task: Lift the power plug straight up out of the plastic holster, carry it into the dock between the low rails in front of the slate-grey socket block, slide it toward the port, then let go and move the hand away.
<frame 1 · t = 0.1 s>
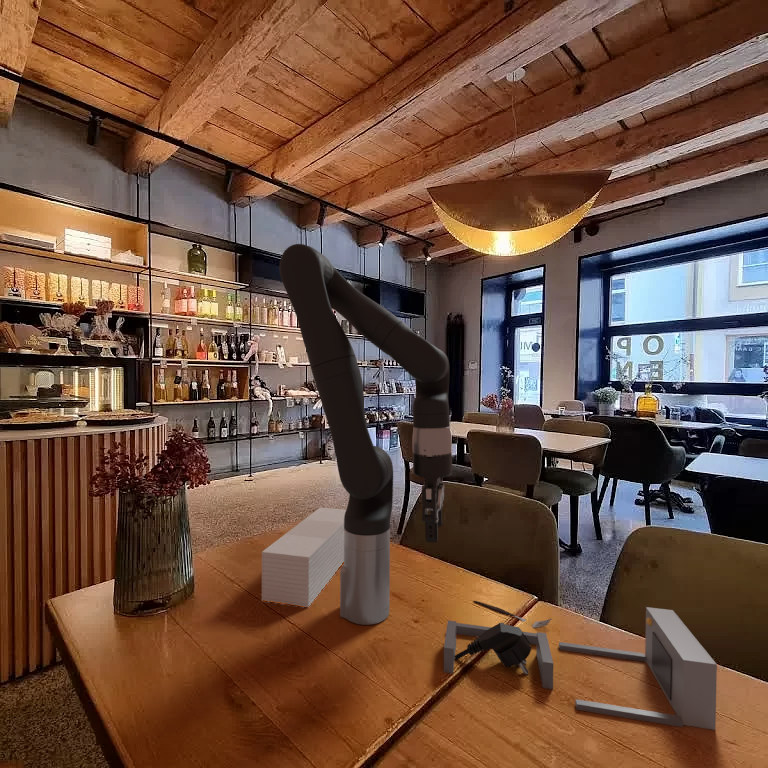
hand: (434, 533, 84), 17 cm above the table, tool pointing down, fingers open, 8 cm apart
socket block: (676, 691, 66), on the table
fork: (509, 617, 87), on the table
plug holster: (496, 663, 72), on the table
stack of papers: (315, 573, 106), on the table
power plug: (492, 665, 72), on the table
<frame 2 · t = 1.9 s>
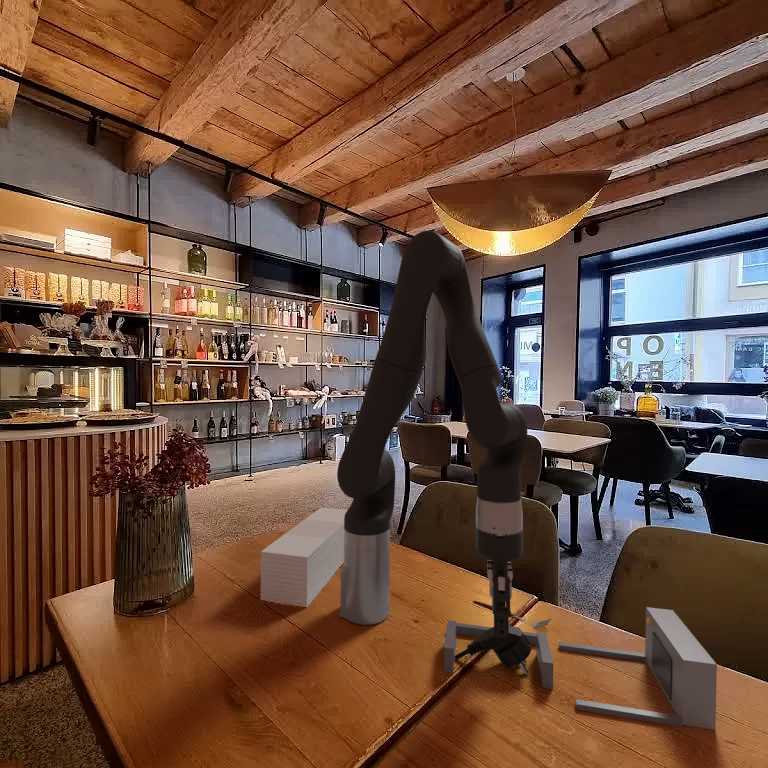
hand: (500, 622, 72), 7 cm above the table, tool pointing down, fingers open, 8 cm apart
power plug: (492, 665, 72), on the table, touching plug holster
everything else where it was.
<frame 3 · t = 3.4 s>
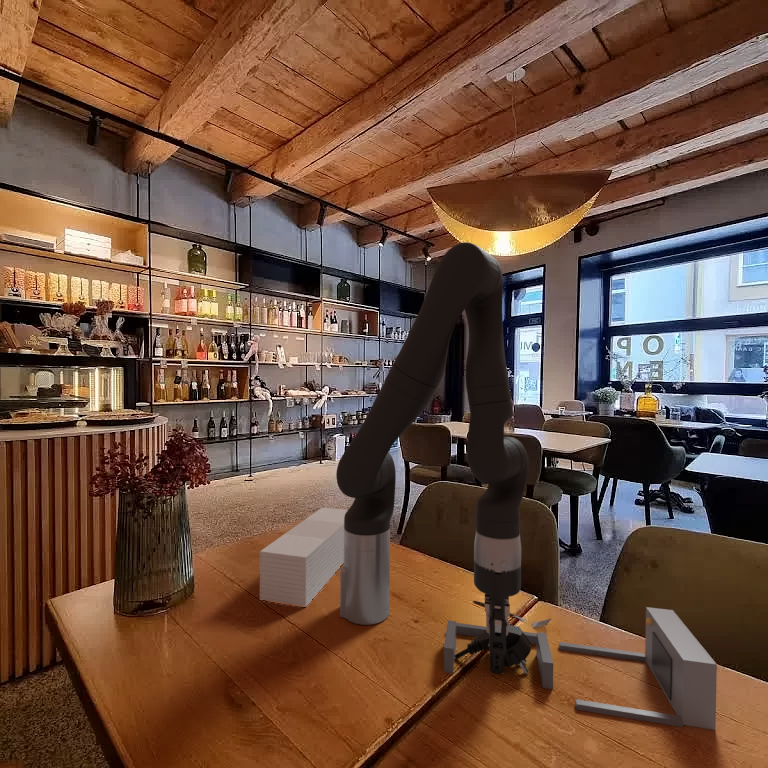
hand: (496, 659, 72), 1 cm above the table, tool pointing down, fingers closed on power plug, 5 cm apart
power plug: (492, 665, 72), on the table, touching gripper
everything else where it was.
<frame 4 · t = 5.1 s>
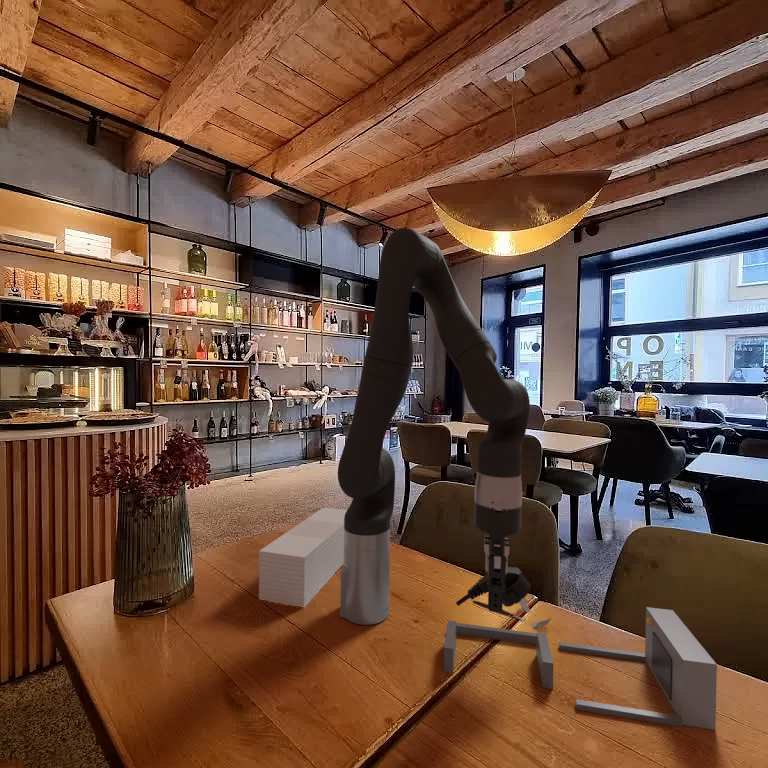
hand: (494, 601, 72), 10 cm above the table, tool pointing down, fingers closed on power plug, 5 cm apart
power plug: (493, 608, 72), point 9 cm above the table, touching gripper
everything else where it was.
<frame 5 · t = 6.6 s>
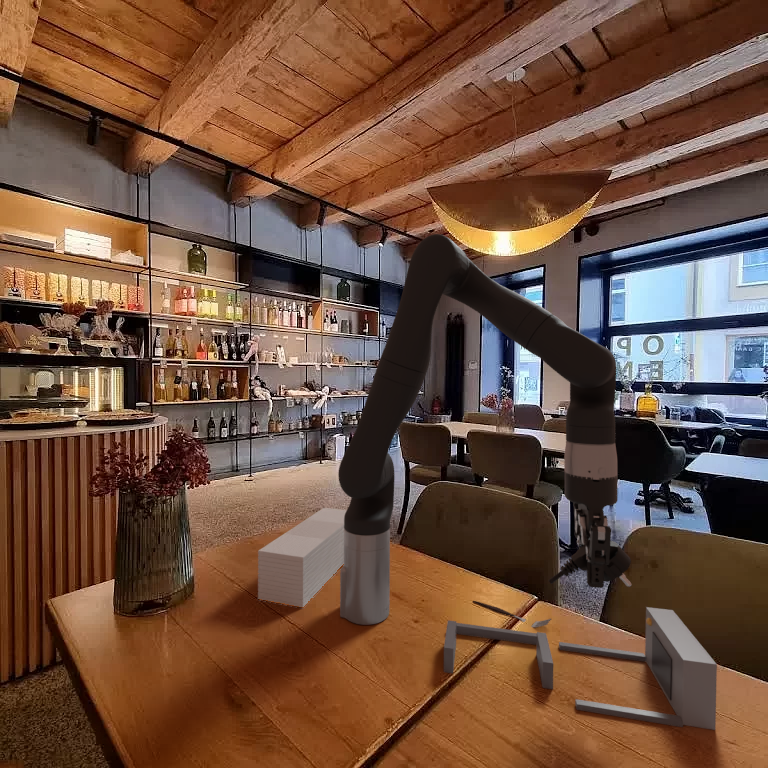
hand: (590, 577, 68), 16 cm above the table, tool pointing down, fingers closed on power plug, 5 cm apart
power plug: (590, 584, 68), point 15 cm above the table, touching gripper
everything else where it was.
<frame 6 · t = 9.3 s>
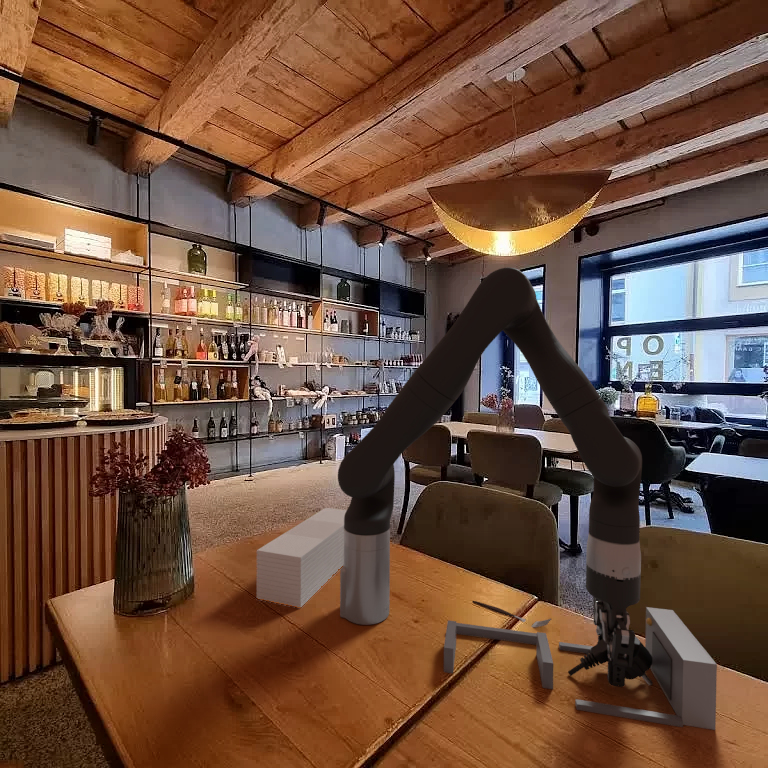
hand: (610, 671, 68), 2 cm above the table, tool pointing down, fingers closed on power plug, 5 cm apart
power plug: (609, 678, 68), on the table, touching gripper
everything else where it was.
when the fingers open (2 cm above the table, at t = 10.1 s): power plug moves 3 cm, on the table.
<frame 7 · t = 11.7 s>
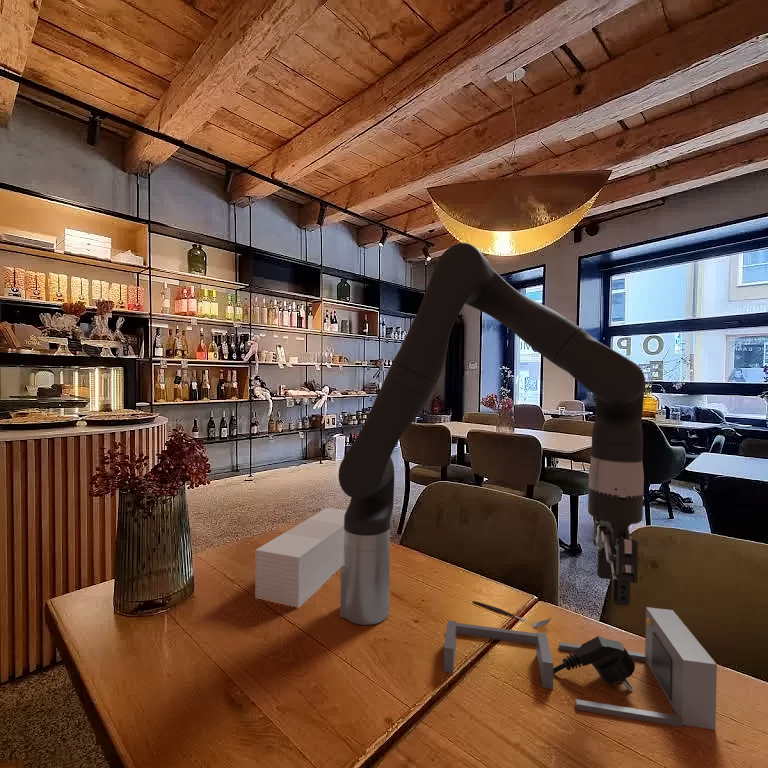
hand: (612, 590, 68), 14 cm above the table, tool pointing down, fingers open, 8 cm apart
power plug: (590, 681, 69), on the table
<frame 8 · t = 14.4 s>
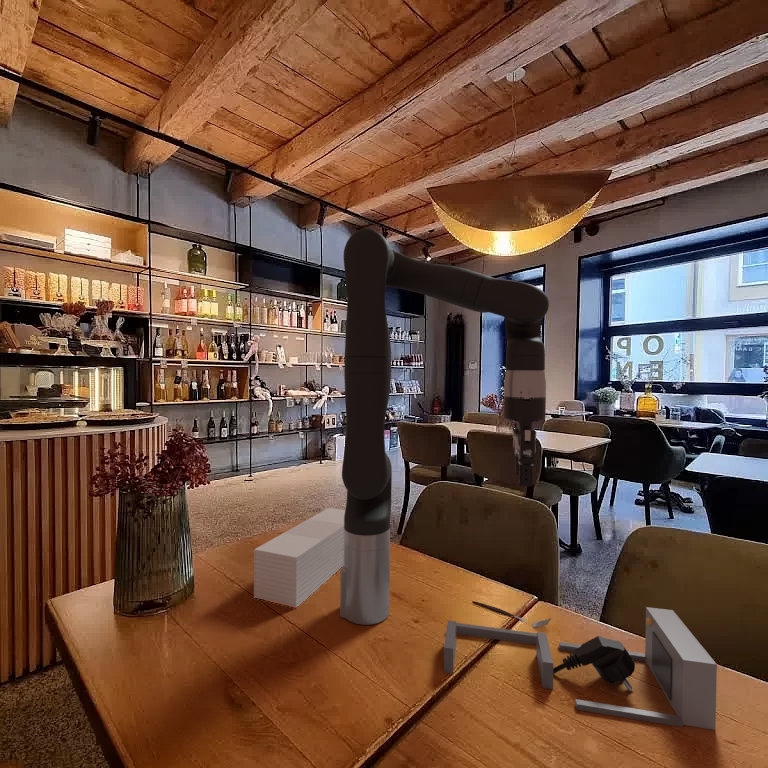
hand: (523, 480, 82), 28 cm above the table, tool pointing down, fingers open, 8 cm apart
at the end: power plug inside the target area (1.6 cm from its centre), on the table; the gripper is holding nothing; power plug moved 14.5 cm from its start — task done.
